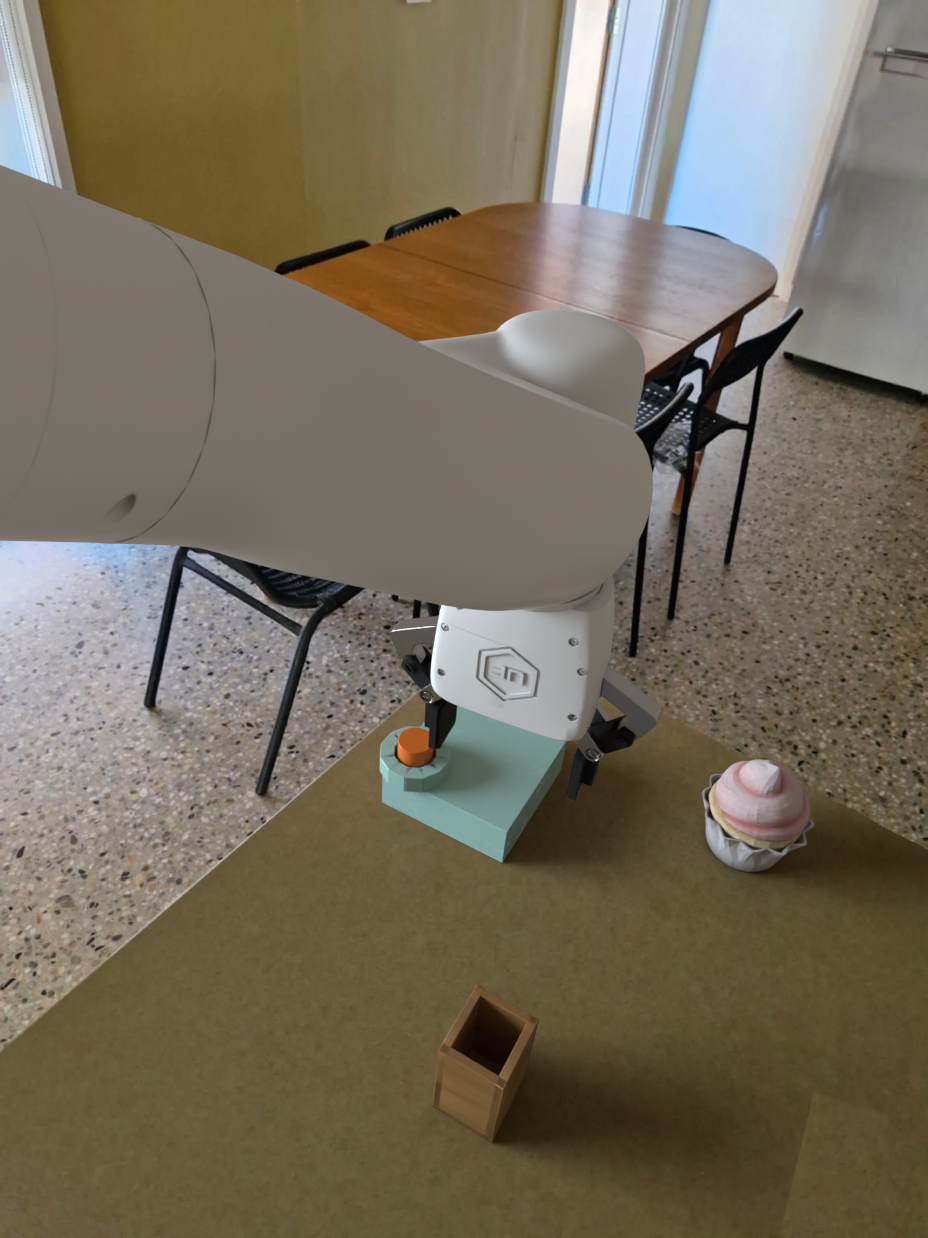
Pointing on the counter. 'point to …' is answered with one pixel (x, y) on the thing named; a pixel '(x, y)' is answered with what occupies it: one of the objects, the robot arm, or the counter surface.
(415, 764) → the button
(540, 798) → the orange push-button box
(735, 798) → the cupcake
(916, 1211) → the counter surface
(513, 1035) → the open wooden box
